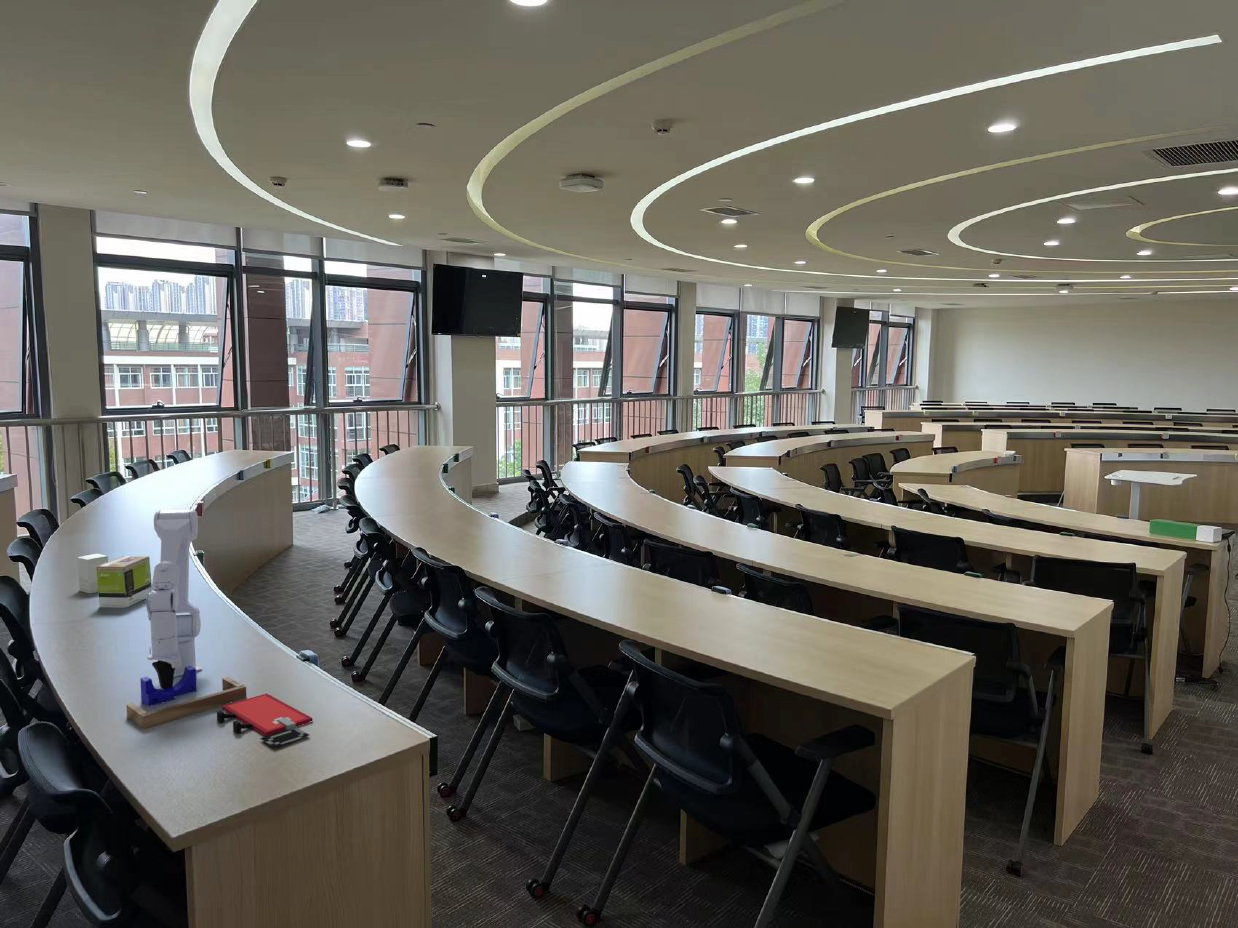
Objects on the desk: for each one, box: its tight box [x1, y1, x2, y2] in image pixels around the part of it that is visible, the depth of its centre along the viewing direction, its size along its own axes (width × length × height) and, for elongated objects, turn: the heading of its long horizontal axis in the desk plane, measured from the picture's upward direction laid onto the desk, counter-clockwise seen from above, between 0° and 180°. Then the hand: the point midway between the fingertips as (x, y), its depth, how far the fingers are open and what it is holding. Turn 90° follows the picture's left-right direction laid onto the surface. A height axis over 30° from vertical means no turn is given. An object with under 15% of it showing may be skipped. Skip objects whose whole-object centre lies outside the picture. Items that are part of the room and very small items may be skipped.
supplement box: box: [76, 553, 109, 594], centre depth 303 cm, size 7×7×13 cm
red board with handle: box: [216, 693, 313, 748], centre depth 195 cm, size 30×3×15 cm
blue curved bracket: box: [140, 665, 198, 707], centre depth 209 cm, size 12×4×6 cm, turn 140°
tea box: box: [96, 555, 152, 609], centre depth 289 cm, size 15×10×15 cm, turn 178°
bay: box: [126, 676, 248, 730], centre depth 203 cm, size 10×24×3 cm, turn 140°
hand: (166, 687), depth 211 cm, fingers closed, pressing on blue curved bracket
